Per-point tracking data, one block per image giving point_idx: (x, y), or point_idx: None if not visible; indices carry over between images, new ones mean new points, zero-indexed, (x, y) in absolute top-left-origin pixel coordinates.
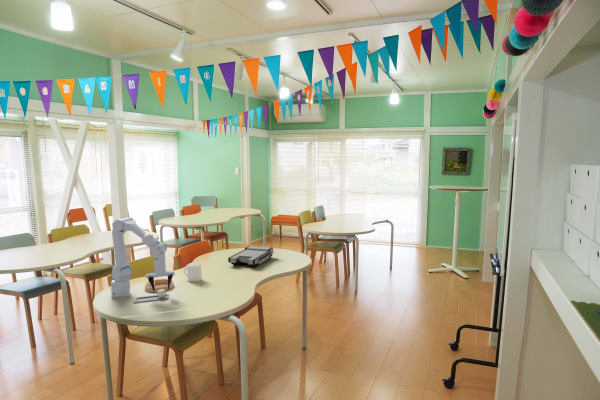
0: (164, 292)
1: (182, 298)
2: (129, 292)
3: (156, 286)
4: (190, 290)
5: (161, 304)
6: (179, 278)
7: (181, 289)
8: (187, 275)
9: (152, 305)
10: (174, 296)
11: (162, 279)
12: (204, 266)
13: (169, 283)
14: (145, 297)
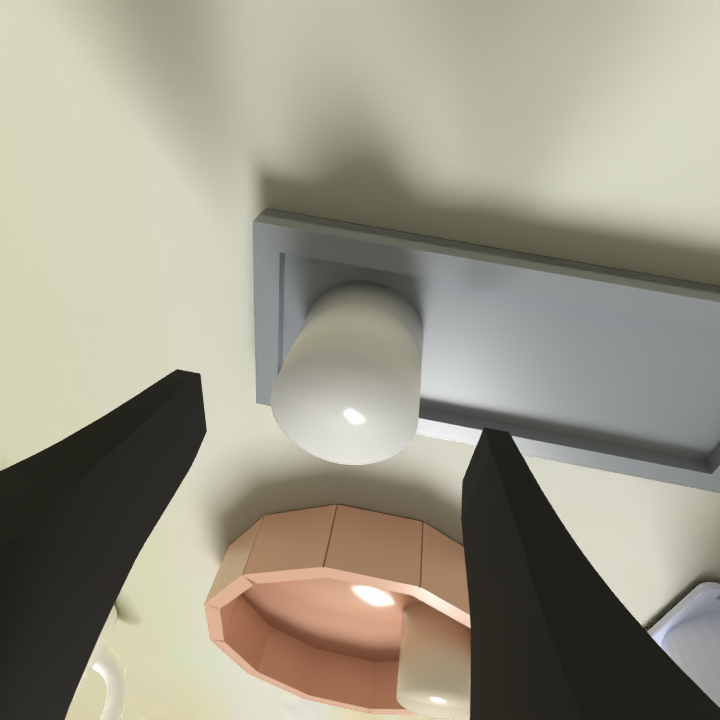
0: (293, 350)
1: (45, 174)
2: (695, 634)
3: (384, 630)
4: (26, 414)
5: (401, 20)
6: (199, 662)
7: None
8: (110, 665)
9: (584, 56)
10: (188, 323)
11: (317, 695)
12: (70, 712)
13: (68, 448)
14: (584, 441)
